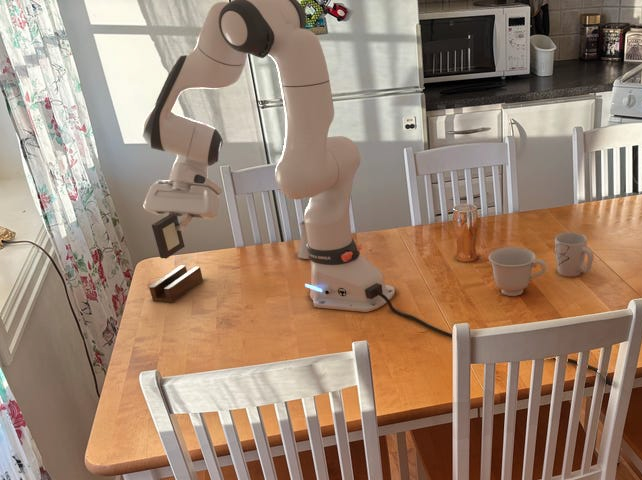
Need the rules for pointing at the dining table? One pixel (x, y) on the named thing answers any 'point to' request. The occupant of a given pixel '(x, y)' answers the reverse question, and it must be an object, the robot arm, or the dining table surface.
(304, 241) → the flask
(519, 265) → the teacup
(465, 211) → the beer glass
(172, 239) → the frame
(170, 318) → the dining table surface
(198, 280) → the holder
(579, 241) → the mug
